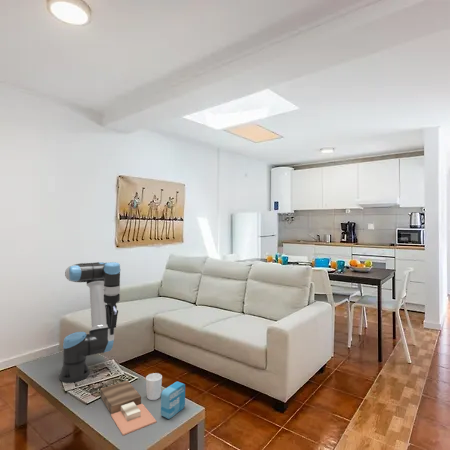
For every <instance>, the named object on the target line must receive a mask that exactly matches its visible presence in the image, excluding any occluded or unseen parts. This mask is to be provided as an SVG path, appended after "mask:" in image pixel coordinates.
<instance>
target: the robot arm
mask: <svg viewBox="0 0 450 450" xmlns="http://www.w3.org/2000/svg"><path fill="white" fill-rule="evenodd" d="M120 264H121V263H119V262H114V261H112V262H99V261H98V262H84V263H83V262H81V263H76V264H72V265H70V266H68V267H67V268H66V269H65V273H64V276H65V278H66V279H67V281H69V282H74V283H86V286H87V287H88V288H89V303H90V319H91V321H90V322H91V328H90V329H89V330H88V333H87V332H85V331H76V332H73V333H70V334H68V335H66V336H65V337H64V339H63V342H62V344H63V345H62V348H63V349H62V354H63V355H62V365H61V369H60V371H59V376H58V378H59V381H61V382H62V381H63V382H62V383H77V382H81V381H82V380H85V379H86V378H88V376H89V375H90V368H89V366H88V362H87V357H88V356H93V355H97V354H104V353H107V352H110V351H112V349H113V346H114V342H115V341H114V340H115V328H117V321H118V315H119V310H118V308H117V306H118V305H117V303H119V302H120V293H121V265H120Z"/></svg>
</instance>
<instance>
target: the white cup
mask: <svg viewBox="0 0 450 450" xmlns="http://www.w3.org/2000/svg"><path fill="white" fill-rule="evenodd" d="M162 380H163V375H162V374H161V373H159V372H155V373H154V372H153V373H149V374H148V375H146V376H145V385H146V386H145V387H146V388H145V389H146V390H145V391H146V397H147V400H151V401H156V400H158V399H161V393H162V387H163V386H162V383H163V381H162Z"/></svg>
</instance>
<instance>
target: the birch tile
mask: <svg viewBox="0 0 450 450" xmlns="http://www.w3.org/2000/svg"><path fill="white" fill-rule="evenodd" d="M121 412H122V414H123V415H124V417H125V418H126V420H127V421H130V420H133V419H135V418H138V417H141V411H140V410H139V408H138V407H137V406H136V404H135V403H134V402H131V403H128V404H125V405H122V406H121Z"/></svg>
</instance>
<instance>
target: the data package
mask: <svg viewBox="0 0 450 450" xmlns="http://www.w3.org/2000/svg"><path fill="white" fill-rule="evenodd" d="M185 405H186V384H185V383H183V382H180V381H175V382H174V383H172V384H170V385H169V386H167V387H166V388H164V389H162V390H161V396H160V415H161V416H162V417H163V418H165V419H168V420H169V419H171V418H173V417H174V416H175V415H177V414H178V413H179V412H181V411H182V410H183V409H184V408H185V407H186V406H185Z"/></svg>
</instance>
